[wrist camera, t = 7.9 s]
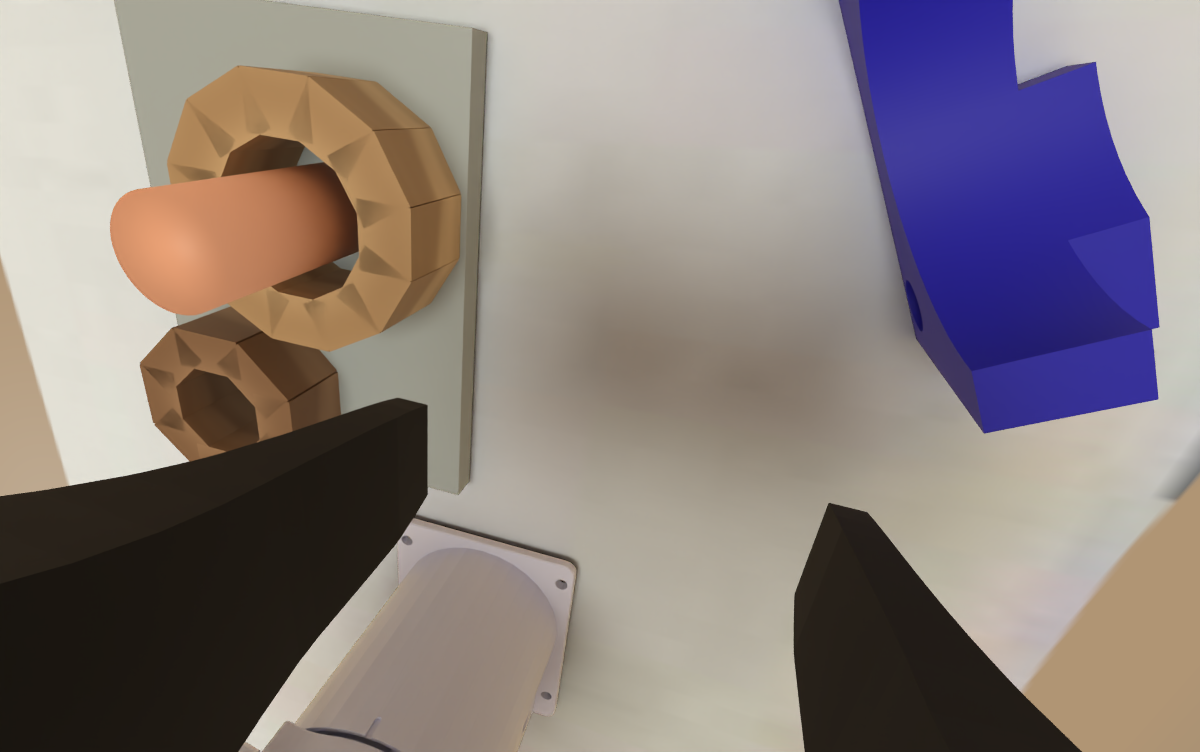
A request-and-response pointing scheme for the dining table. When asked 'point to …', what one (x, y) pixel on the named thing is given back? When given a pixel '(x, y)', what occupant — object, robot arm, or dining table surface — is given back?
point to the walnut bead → (234, 385)
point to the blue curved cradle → (1006, 214)
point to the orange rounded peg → (231, 234)
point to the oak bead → (369, 176)
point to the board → (336, 47)
